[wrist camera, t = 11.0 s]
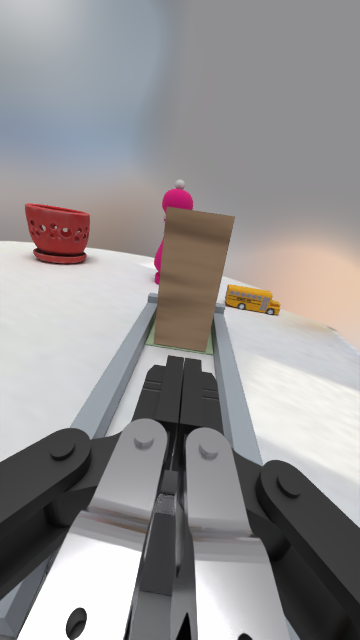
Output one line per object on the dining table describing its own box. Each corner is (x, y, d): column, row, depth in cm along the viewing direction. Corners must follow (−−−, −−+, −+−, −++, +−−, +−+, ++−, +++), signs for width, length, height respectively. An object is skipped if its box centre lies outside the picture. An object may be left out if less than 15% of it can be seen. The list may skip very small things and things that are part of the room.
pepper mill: (145, 280, 49) (153, 174, 40) (165, 276, 54) (176, 182, 46) (171, 290, 45) (185, 175, 37) (190, 284, 51) (206, 184, 42)
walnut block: (205, 351, 25) (234, 216, 19) (153, 343, 25) (166, 206, 19) (204, 322, 32) (224, 217, 26) (163, 315, 32) (175, 210, 26)
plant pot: (24, 264, 48) (14, 202, 43) (40, 253, 59) (34, 203, 54) (89, 268, 52) (87, 212, 47) (92, 257, 63) (91, 211, 58)
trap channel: (294, 687, 7) (332, 665, 6) (-27, 630, 8) (-55, 597, 6) (219, 322, 34) (223, 304, 32) (148, 311, 34) (150, 292, 33)
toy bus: (278, 317, 40) (285, 297, 38) (224, 307, 41) (229, 287, 39) (274, 310, 43) (280, 292, 41) (223, 302, 44) (228, 283, 42)
